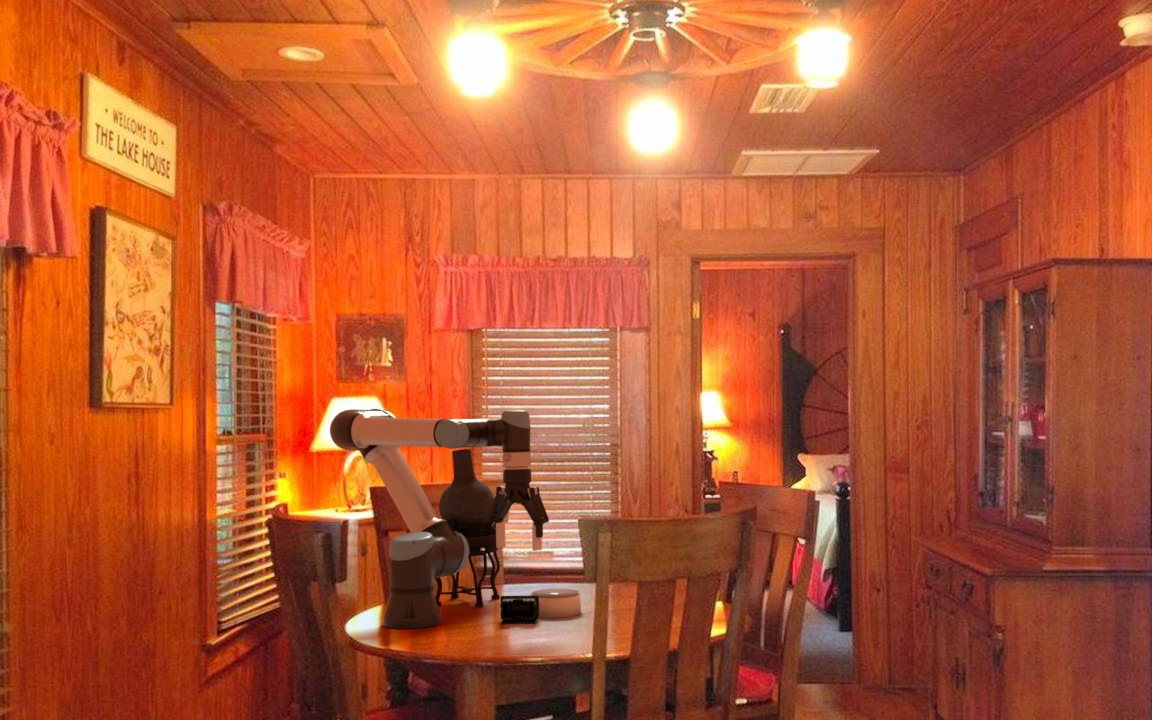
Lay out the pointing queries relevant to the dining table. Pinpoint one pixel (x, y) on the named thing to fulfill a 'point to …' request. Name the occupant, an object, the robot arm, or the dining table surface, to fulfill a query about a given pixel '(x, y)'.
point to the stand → (558, 602)
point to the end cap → (519, 609)
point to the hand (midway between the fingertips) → (518, 548)
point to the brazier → (469, 522)
